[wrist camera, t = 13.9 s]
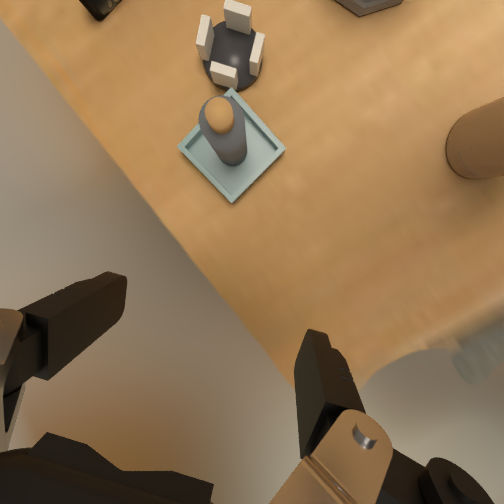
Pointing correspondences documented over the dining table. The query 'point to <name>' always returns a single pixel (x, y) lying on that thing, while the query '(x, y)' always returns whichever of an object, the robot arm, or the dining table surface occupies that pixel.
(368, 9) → the tankard
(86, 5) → the mobile phone
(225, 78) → the round holder stand
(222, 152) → the grey tan rounded cylinder
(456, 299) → the dining table surface
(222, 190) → the tray
